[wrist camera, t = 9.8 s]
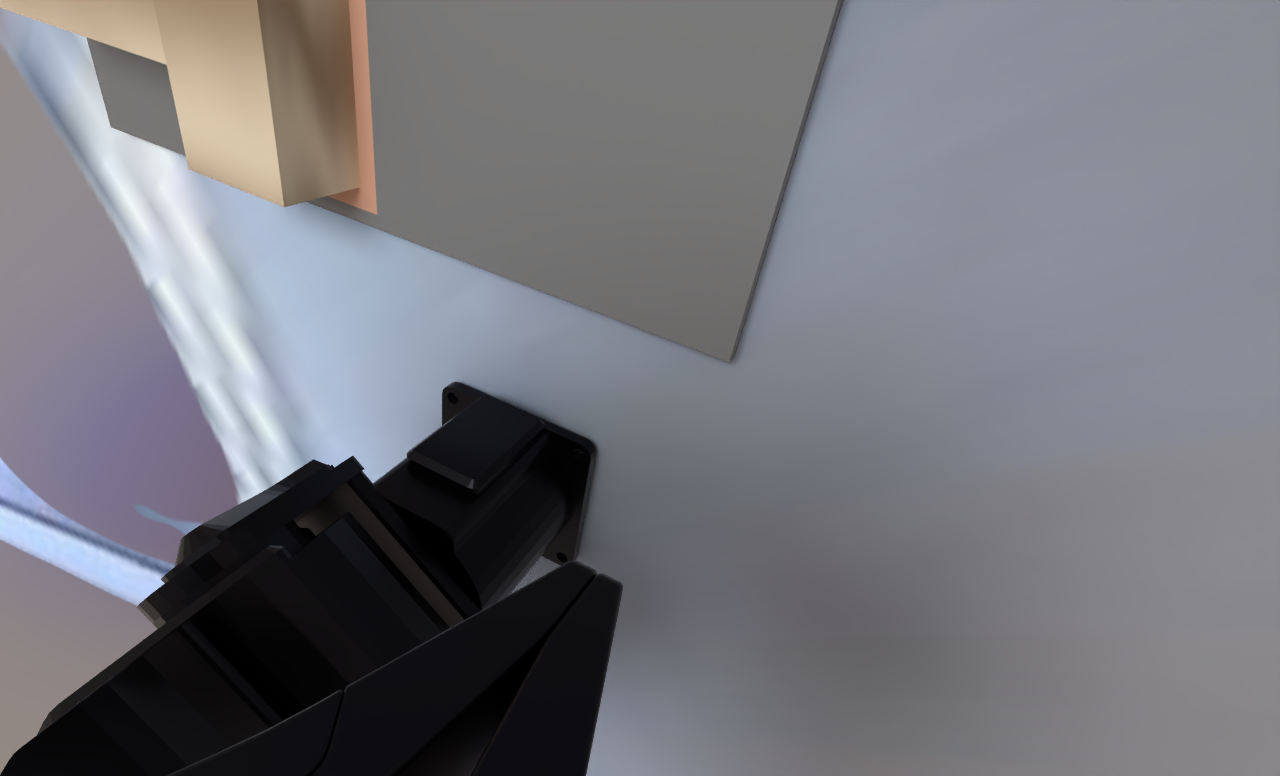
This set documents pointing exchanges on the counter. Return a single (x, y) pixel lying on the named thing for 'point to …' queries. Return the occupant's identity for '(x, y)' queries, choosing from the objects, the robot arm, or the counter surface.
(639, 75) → the mat
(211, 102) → the t block
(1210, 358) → the counter surface
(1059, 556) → the counter surface
